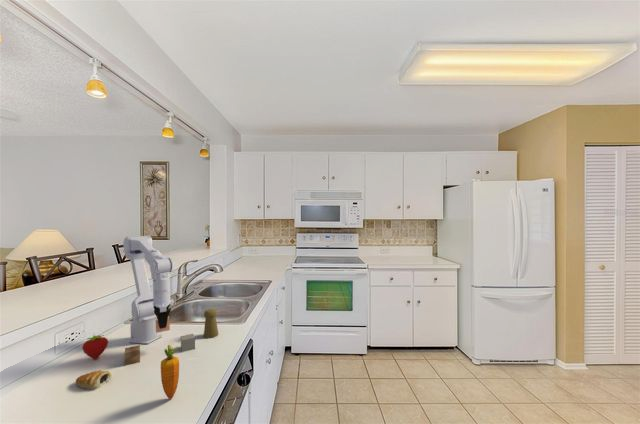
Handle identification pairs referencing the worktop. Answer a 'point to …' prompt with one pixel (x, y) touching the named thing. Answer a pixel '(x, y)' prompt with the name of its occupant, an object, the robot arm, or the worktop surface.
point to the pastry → (93, 379)
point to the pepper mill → (210, 323)
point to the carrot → (170, 372)
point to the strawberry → (95, 346)
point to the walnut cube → (132, 355)
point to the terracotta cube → (162, 328)
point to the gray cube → (187, 342)
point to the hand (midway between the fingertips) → (162, 325)
